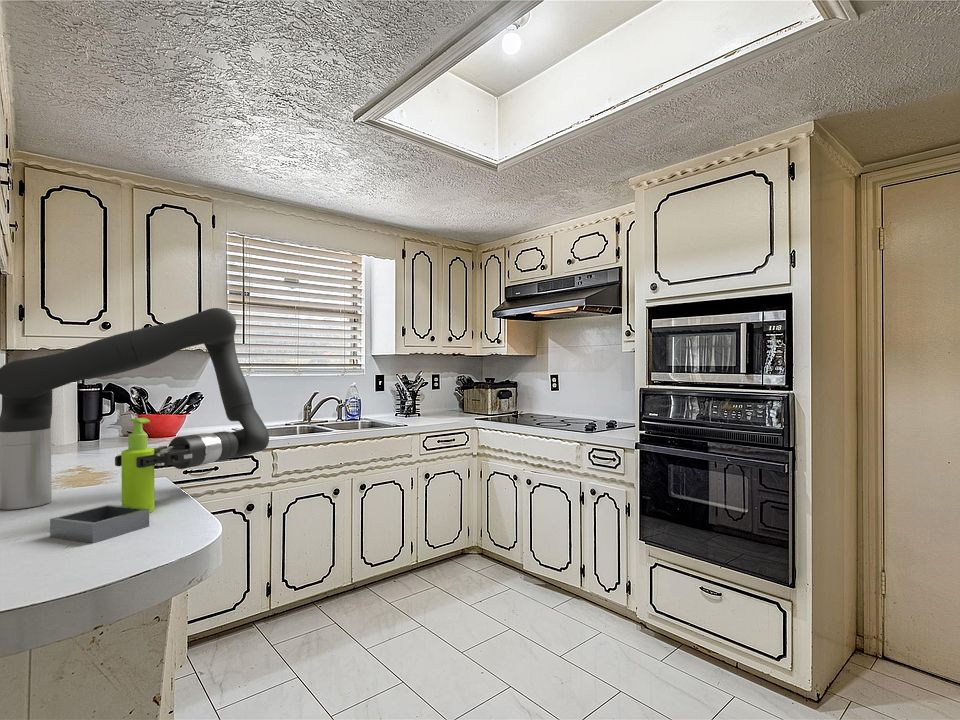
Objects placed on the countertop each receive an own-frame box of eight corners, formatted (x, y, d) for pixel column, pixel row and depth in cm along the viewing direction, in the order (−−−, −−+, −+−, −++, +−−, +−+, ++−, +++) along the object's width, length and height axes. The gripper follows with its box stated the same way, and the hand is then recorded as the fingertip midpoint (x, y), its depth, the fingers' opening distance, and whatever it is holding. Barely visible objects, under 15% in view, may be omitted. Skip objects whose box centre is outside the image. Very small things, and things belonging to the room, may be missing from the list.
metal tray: (50, 537, 99) (50, 518, 99) (108, 521, 109) (108, 504, 109) (92, 543, 95) (92, 524, 95) (149, 526, 105) (149, 508, 105)
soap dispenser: (130, 518, 111) (129, 420, 110) (117, 512, 115) (116, 418, 115) (161, 511, 115) (160, 417, 115) (147, 506, 120) (146, 415, 119)
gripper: (173, 433, 131) (103, 443, 116) (218, 435, 126) (150, 445, 110) (174, 464, 131) (103, 478, 116) (218, 467, 126) (151, 482, 110)
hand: (127, 462), depth 113 cm, fingers closed on soap dispenser, 6 cm apart
